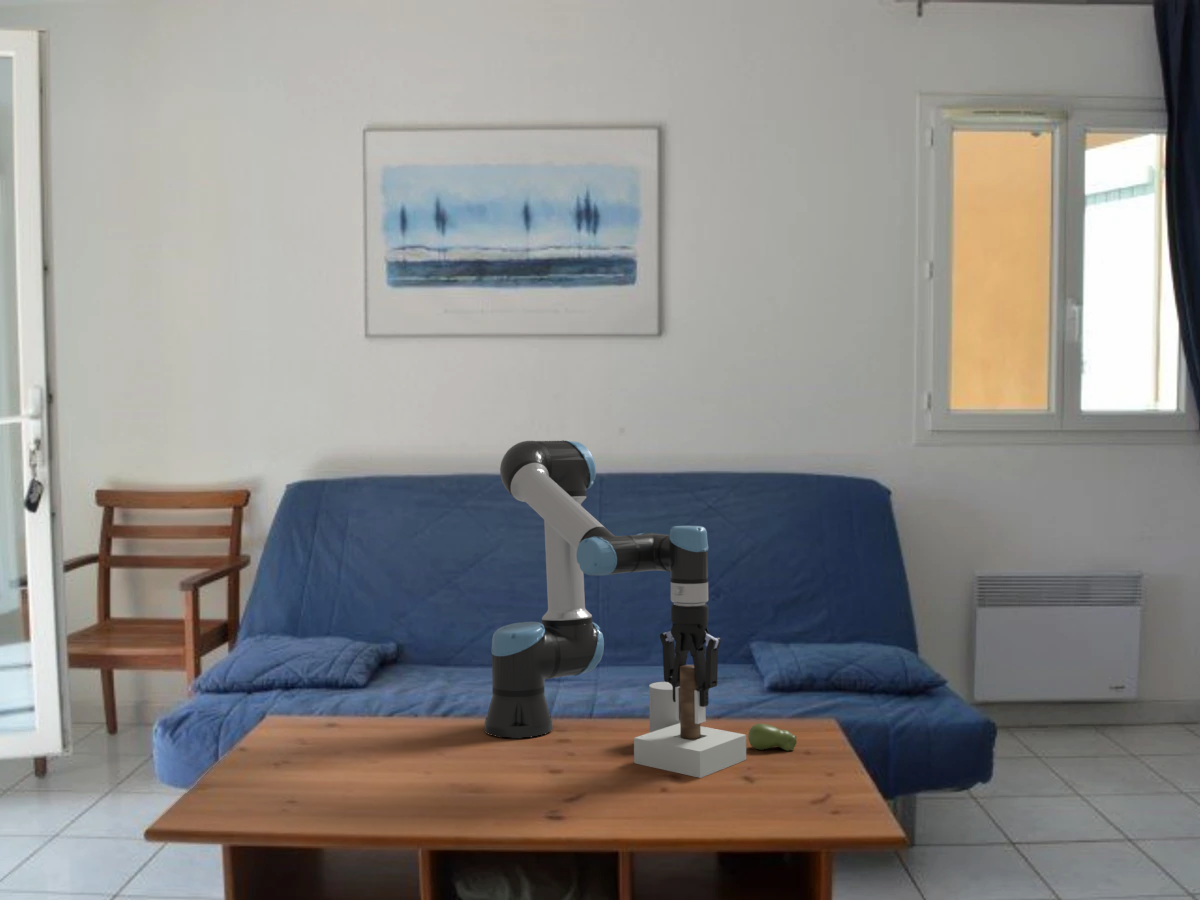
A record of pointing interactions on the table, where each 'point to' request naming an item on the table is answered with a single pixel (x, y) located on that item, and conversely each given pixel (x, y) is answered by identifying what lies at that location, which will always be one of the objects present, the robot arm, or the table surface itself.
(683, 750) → the socket block
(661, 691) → the grey cylinder peg
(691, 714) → the walnut dowel
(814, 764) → the table surface
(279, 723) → the table surface
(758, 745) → the pear
